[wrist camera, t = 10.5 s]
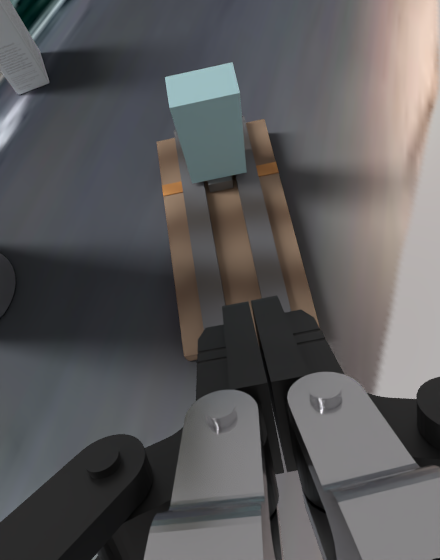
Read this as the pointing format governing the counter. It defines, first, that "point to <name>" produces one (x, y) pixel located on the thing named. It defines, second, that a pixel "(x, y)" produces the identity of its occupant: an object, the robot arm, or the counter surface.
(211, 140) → the fader tab
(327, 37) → the counter surface
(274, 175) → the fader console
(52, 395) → the counter surface
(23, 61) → the skincare box
